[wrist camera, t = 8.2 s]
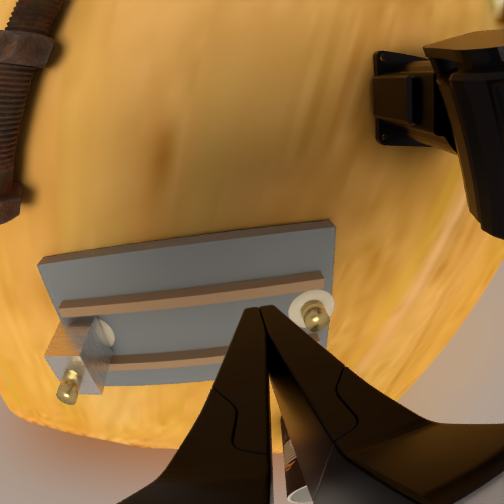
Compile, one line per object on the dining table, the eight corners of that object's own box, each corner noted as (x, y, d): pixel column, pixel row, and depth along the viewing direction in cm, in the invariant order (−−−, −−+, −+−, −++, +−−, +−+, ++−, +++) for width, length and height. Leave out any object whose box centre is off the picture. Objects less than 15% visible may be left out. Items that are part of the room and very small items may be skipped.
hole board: (333, 219, 21) (345, 232, 19) (323, 353, 27) (331, 370, 26) (43, 257, 20) (31, 272, 18) (99, 376, 26) (94, 394, 24)
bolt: (78, 0, 13) (21, 195, 19) (17, -10, 10) (-35, 192, 15) (89, -21, 10) (18, 230, 15) (11, -34, 6) (-52, 227, 12)
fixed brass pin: (323, 297, 23) (330, 310, 21) (322, 316, 24) (328, 329, 22) (300, 301, 23) (306, 315, 21) (300, 320, 24) (305, 334, 22)
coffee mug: (301, 438, 35) (319, 504, 26) (254, 422, 32) (268, 500, 23) (376, 391, 32) (409, 459, 23) (339, 366, 29) (375, 450, 20)
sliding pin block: (95, 314, 21) (71, 379, 15) (112, 352, 23) (97, 416, 17) (63, 316, 21) (34, 377, 15) (81, 353, 22) (62, 414, 17)
